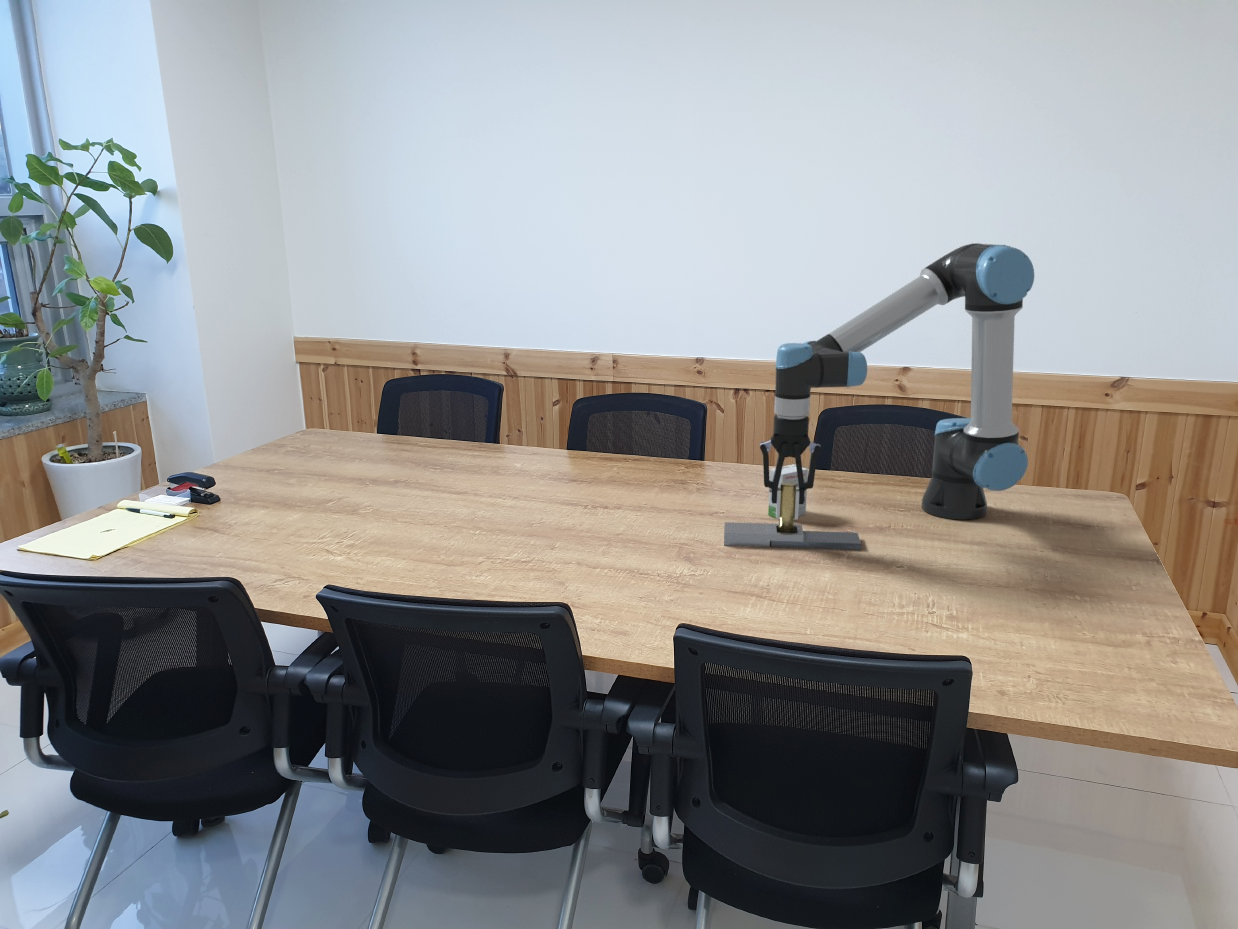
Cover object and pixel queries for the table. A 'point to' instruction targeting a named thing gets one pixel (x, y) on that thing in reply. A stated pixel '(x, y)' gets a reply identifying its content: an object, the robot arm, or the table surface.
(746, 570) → the table surface
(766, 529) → the chain end grey
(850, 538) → the chain end dark
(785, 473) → the ink box
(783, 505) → the pin
